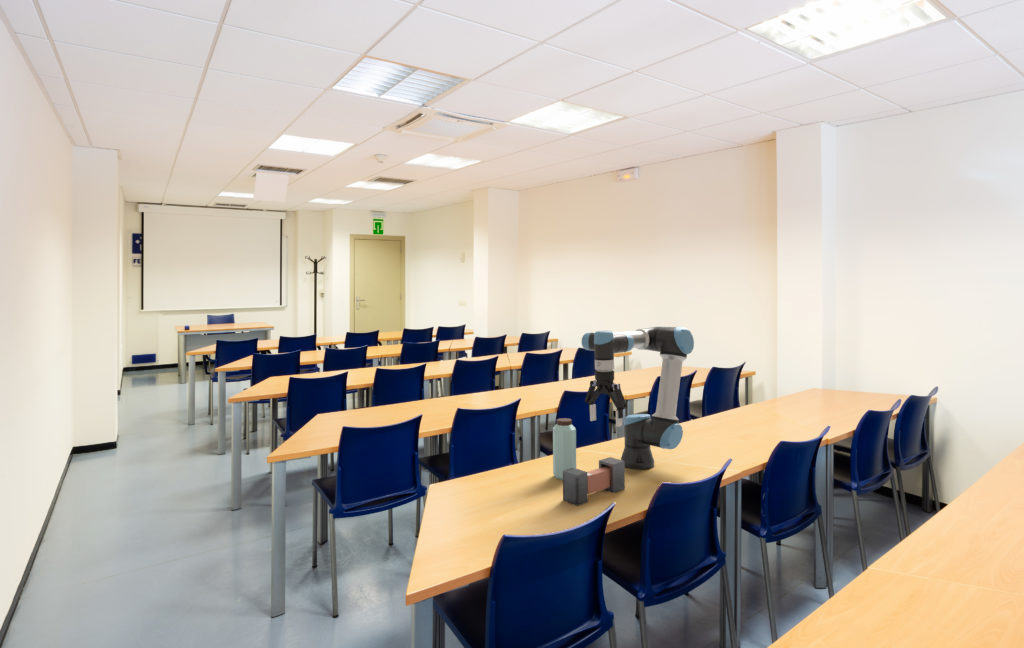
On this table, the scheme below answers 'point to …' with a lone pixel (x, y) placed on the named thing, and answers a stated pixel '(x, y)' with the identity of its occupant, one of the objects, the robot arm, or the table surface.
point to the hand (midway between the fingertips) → (605, 423)
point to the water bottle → (563, 447)
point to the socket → (575, 486)
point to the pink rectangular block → (598, 479)
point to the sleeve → (615, 473)
